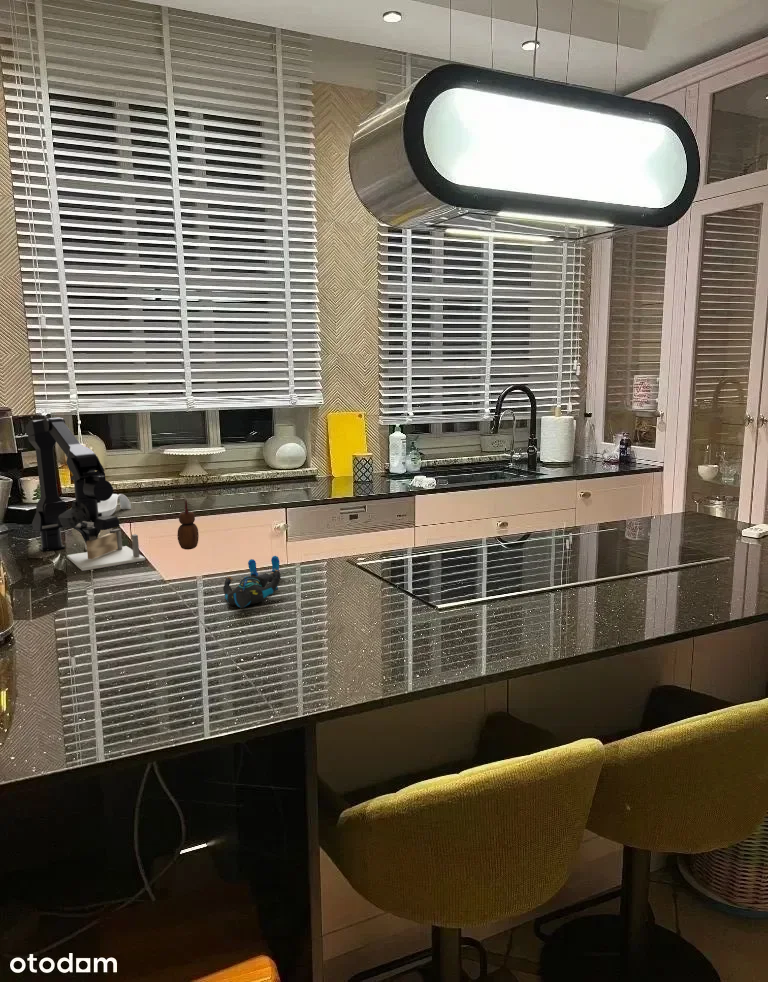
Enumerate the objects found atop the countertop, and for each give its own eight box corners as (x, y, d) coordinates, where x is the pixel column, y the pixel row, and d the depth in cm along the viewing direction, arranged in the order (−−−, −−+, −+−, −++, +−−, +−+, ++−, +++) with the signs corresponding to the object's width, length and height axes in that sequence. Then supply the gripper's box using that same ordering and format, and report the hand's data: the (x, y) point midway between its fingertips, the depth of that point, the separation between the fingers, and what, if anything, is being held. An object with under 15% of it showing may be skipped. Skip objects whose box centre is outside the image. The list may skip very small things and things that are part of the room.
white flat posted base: (67, 557, 219) (64, 534, 218) (126, 548, 229) (124, 526, 227) (82, 570, 204) (79, 545, 202) (145, 560, 213) (143, 536, 212)
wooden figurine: (195, 550, 223) (192, 500, 220) (176, 551, 223) (172, 501, 220) (201, 545, 229) (198, 497, 227) (182, 546, 230) (179, 497, 227)
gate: (117, 546, 225) (115, 527, 224) (122, 547, 225) (121, 527, 224) (87, 558, 212) (85, 537, 211) (92, 558, 211) (90, 538, 210)
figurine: (288, 553, 191) (267, 581, 161) (292, 577, 191) (271, 609, 162) (237, 561, 191) (206, 590, 162) (241, 584, 192) (211, 618, 162)
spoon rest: (106, 521, 275) (104, 501, 273) (77, 521, 277) (75, 501, 276) (139, 509, 298) (137, 491, 296) (112, 509, 300) (110, 491, 299)
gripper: (39, 499, 210) (44, 553, 213) (87, 504, 202) (92, 560, 205) (71, 492, 220) (76, 544, 223) (118, 497, 212) (123, 550, 215)
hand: (90, 549), depth 216 cm, fingers closed
